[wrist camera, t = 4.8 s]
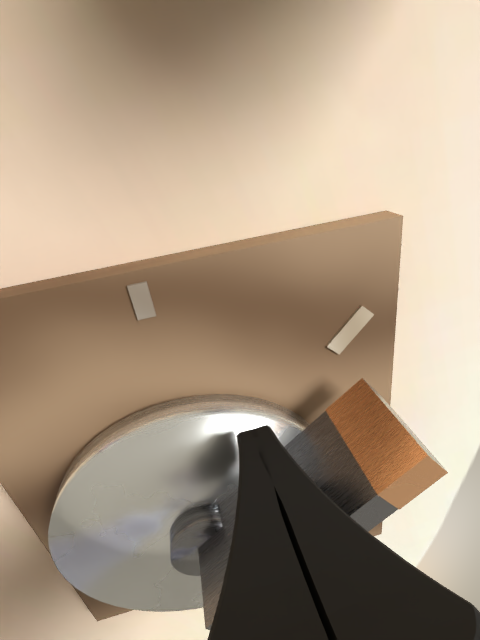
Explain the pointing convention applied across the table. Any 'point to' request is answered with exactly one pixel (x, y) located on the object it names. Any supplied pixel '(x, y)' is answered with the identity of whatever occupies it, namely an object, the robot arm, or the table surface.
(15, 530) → the table surface
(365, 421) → the dial
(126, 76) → the table surface
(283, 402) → the dial board
